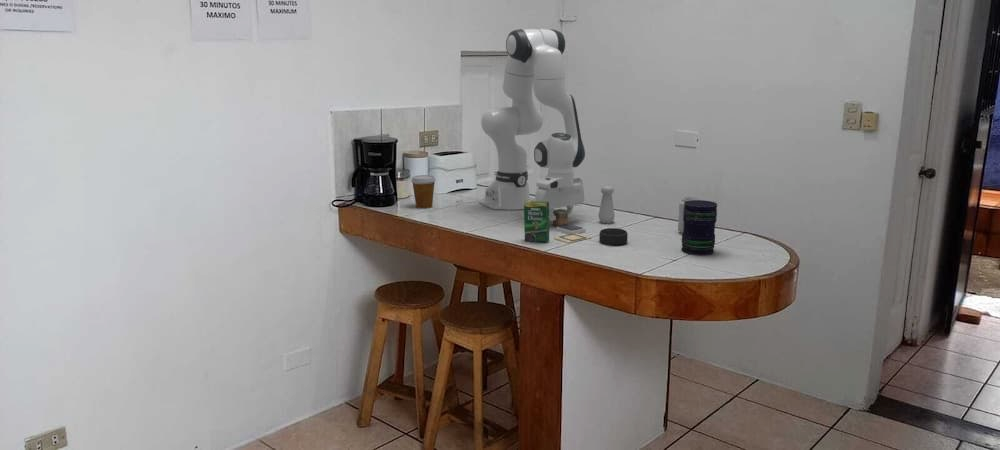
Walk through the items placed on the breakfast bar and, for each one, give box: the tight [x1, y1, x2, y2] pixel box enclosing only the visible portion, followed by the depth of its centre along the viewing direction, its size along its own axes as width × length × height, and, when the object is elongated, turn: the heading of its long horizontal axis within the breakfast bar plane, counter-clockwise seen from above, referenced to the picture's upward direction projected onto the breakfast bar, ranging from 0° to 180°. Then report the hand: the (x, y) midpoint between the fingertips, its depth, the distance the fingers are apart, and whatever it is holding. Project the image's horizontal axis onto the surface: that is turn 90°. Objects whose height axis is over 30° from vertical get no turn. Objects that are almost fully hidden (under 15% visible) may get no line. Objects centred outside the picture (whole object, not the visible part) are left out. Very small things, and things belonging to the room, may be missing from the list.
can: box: [677, 196, 702, 235], centre depth 238 cm, size 8×8×12 cm
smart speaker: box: [598, 227, 629, 246], centre depth 228 cm, size 9×9×4 cm
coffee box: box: [523, 200, 550, 244], centre depth 229 cm, size 8×3×13 cm, turn 67°
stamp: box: [551, 208, 569, 227], centre depth 251 cm, size 4×4×5 cm
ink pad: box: [555, 223, 586, 235], centre depth 242 cm, size 8×6×2 cm
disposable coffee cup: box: [411, 174, 436, 209], centre depth 281 cm, size 10×10×12 cm
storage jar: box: [681, 199, 718, 256], centre depth 216 cm, size 10×10×15 cm
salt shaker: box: [598, 185, 616, 225], centre depth 254 cm, size 6×6×13 cm
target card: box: [553, 233, 592, 244], centre depth 233 cm, size 7×10×1 cm
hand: (560, 219), depth 251 cm, fingers open, 5 cm apart
